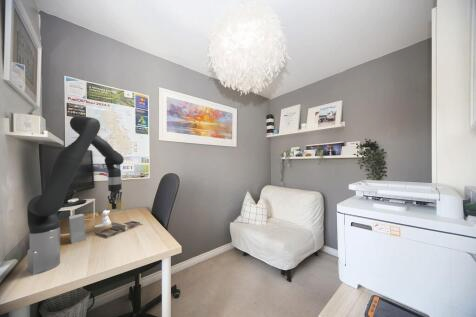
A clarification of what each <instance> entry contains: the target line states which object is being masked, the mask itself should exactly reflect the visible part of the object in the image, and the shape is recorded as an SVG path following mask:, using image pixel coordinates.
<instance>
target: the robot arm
mask: <svg viewBox="0 0 476 317" xmlns="http://www.w3.org/2000/svg"><path fill="white" fill-rule="evenodd" d="M69 125H70V128H71V129H72V130H73V132H75V133H76V134H78V137H77V138H76V139H75V140H74V141H73V142H72V143H70V144H69V145H66V146H65V147H64V148H63V149H61V150H60V151H59V152H58V154H57V156H56V157H55V159H54V161H53V163H52V165H51V170H50V175H49V181H48V183H47V185H46V186H45V189H44V190H43V192H42V194H38V195H36V196H34V197H32V198H31V199H30V200H29V202H28V203H27V206H26V207H27V208H26V210H27V211H26V212H27V213H26V214H27V226H28V229H29V249H27V256H26V258H27V260H26V262H27V263H26V266H27V268H26V269H27V273H29V274H31V275H32V276H33V275H36V274H40V273H44V272H47V271H50V270H52V269H53V268H54V269H55V268H56V267H57V266H59V265H60V264H61V221H60V219H59V217H58V212H59V211H60V210H61V208H62V207H63V205H64V202H65V199H66V196H67V193H68V190H69V188H70V185H71V184H72V182H73V179H75V177H76V175H77V173H78V170H79V169H80V167H81V164H82V162H83V160H84V158H85V155H86V154H87V152H88V151H89V147H90V146H91V145H92V146H93V147H94V148H95V149H96V150H97V151H98V153H99V154H100V155H101V156H102V157H104V164H105V167H106V169H107V172H108V173H107V174H108V176H107V178H108V179H107V190H108V192H109V194H110V195H108V196H107V199H108V200H107V201H109V203H110V204H112V209H116V200H122V196H123V195H122V194H123V192H122V191H121V190H122V189H123V188H122V185H123V184H122V173H121V172H122V171H121V169H120V168H118V167H115V166H116V165H117V166H119V165H122V164H123V163H124V156H123V155H122V154H121V153H119V152H118V151H116V150H115V149H114V148H113V147H112V146H111V144H110V143H109V142H108V141H106V140H105V139H103V138H102V137H101V136H99V135H98V133H99V131H100V128H101V123H100V121H99V120H98V119H97V118H95V117H91V116H84V115H75V116H72V118H70V119H69Z"/></svg>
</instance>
